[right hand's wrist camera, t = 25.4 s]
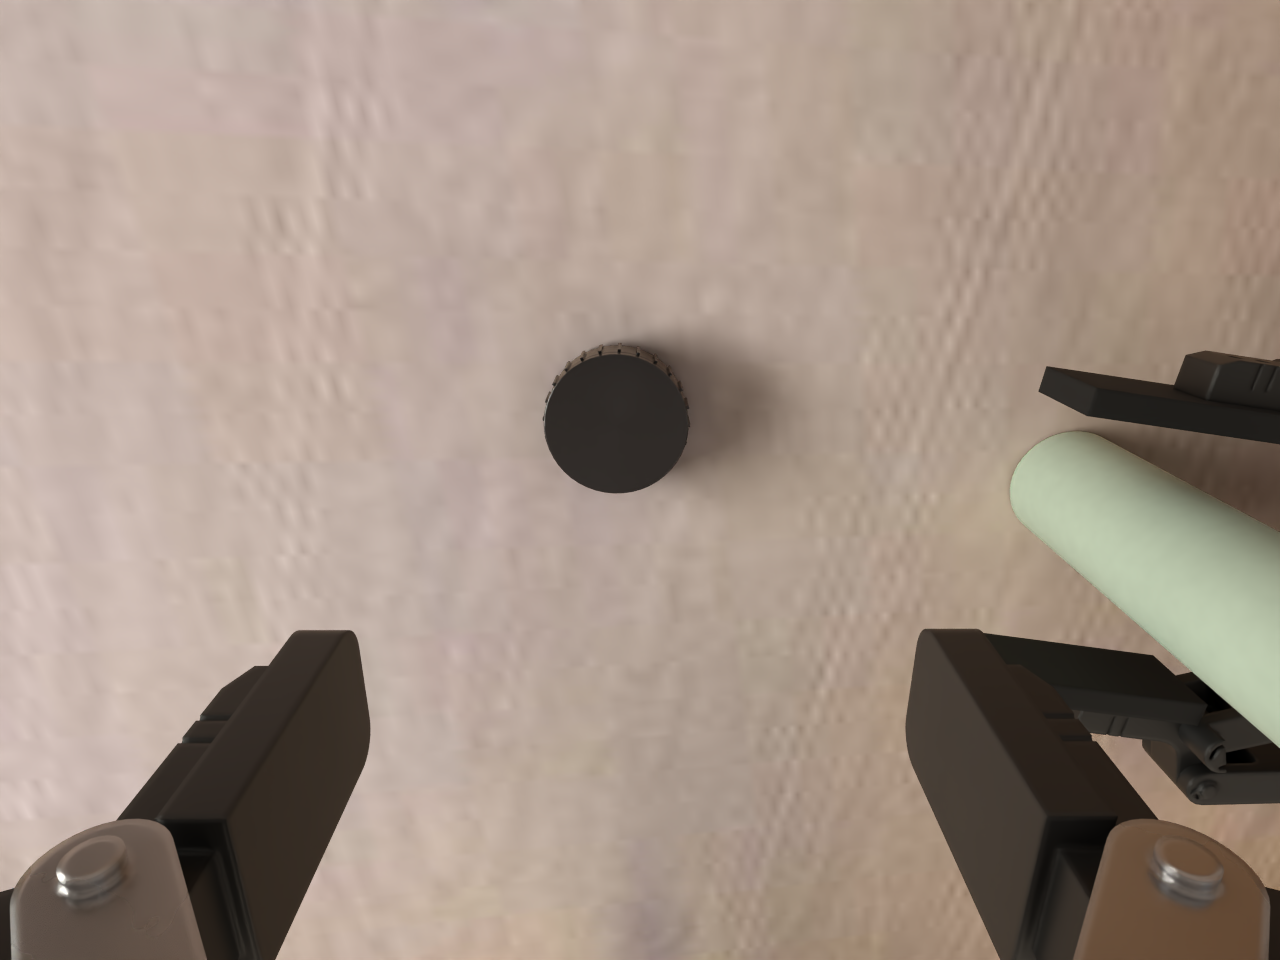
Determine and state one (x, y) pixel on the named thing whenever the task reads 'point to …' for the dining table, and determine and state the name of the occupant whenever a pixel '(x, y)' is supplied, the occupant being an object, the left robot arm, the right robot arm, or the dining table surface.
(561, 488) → the dining table surface
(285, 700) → the right robot arm
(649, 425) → the lid
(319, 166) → the dining table surface
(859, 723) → the dining table surface
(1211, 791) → the left robot arm
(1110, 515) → the jar
